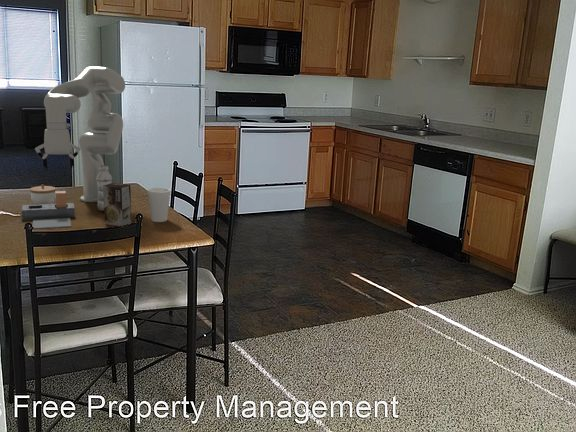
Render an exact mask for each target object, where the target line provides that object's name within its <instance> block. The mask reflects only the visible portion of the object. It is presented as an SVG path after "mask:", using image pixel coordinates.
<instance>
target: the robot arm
mask: <svg viewBox="0 0 576 432" xmlns="http://www.w3.org/2000/svg"><path fill="white" fill-rule="evenodd" d="M125 88H126V81H125V79H124V77H123V76H122V75H121V74H119V73H118V72H116V71H115V70H114V69H111V68H110V67H107V66H106V67H105V66H86V67H84V68H82V70H81V71H80V72H79V73H78V74H77V75H76V76H75V77H74V78H73V79H72V80H69V81H65V82H62V83H60V84H58V85H55V86H54V87H52V88H51V89H50V90H49V91H48V92H47V94H45V97H44V100H43V107H44V108H45V118H46V119H45V120H46V121H45V122H46V128H45V129H44V135H43V137H44V138H43V141H44V142H43V143H42V144H40V145H38V146H36V147H35V148H34V150H35V152H36V153H37V155H38V156H39V157H40V158H41V159H42V165H43V166H42V167H45V170H47V169H48V158H47V157H48V156H50V155H52V156H53V155H56V156H57V155H58V156H59V155H68V156H69V157H70V158H69V167H70V169H73V167H75V158H76V157H77V155H79V153H80V154H81V163H82V165H81V167H82V184H83V185H82V187H83V189H82V190H83V191H82V192H83V195H81V196H80V198H79V200H80V201H82V202H86V203H98V185H97V180H96V178H97V175H98V173H99V172H100V170H99V166H101V165H105V164H104V160H103V157H102V155H114V154H116V153H117V151H118V149H119V146H120V141H121V137H122V134H123V129H124V120H123V117H122V116H121V115H120V114H119V113H116V112H111V110H112V103H111V100H110V99H109V98H108V96H107V95H106V94H114V95H118V94H122V93H123V92H124V91H125V90H126V89H125ZM89 94H90V95H91V99H92V104H91V109H90V114H89V117H88V120H87V127H88V129H89V130H90V131H89V132H84V133H82V134H81V135H80V136H79V139H78V145H79V146H77V145H75V144H73V143H72V142H71V135H70V131H69V130H70V129H68V128H71V123H68V122H67V114H75V113H77V112H78V111H79V110H80V109H81V106H82V105H81V100H80V98H83V97H87V96H88V95H89ZM91 131H92V132H91ZM43 148H44V153H42V152H41V149H43ZM72 149H75V152H74V153H72Z"/></svg>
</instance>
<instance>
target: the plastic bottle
mask: <svg viewBox="0 0 576 432" xmlns="http://www.w3.org/2000/svg"><path fill="white" fill-rule="evenodd" d="M99 170H100V172H99V173H98V175H97V178H96V180H97V185H98V202H97V205H96V206H97V208H98V209H97V210H99V211H102V212H104V198H103V186H104V185H107V184H110V183H113V182H112V180H113V177H112V175H111V174H110V171H109V165H107V164H104V165H101V166H99Z"/></svg>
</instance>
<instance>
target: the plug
mask: <svg viewBox="0 0 576 432" xmlns="http://www.w3.org/2000/svg"><path fill="white" fill-rule="evenodd" d="M55 193H56V198H55V204H56V208H60V207H67V205H66V203H67V192H66V190H56V191H55Z"/></svg>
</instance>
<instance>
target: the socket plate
mask: <svg viewBox="0 0 576 432" xmlns="http://www.w3.org/2000/svg"><path fill="white" fill-rule="evenodd" d="M66 205H67V207H60V208H56V203H52V204H37V205H36V204H22V207H21V220H22V221H27V220H28V221H29V220H43V219H63V218H70V219H71V218H75V217H76V212H75V211H76V210H75V209H76V208H75V204H74V202H66Z"/></svg>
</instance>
